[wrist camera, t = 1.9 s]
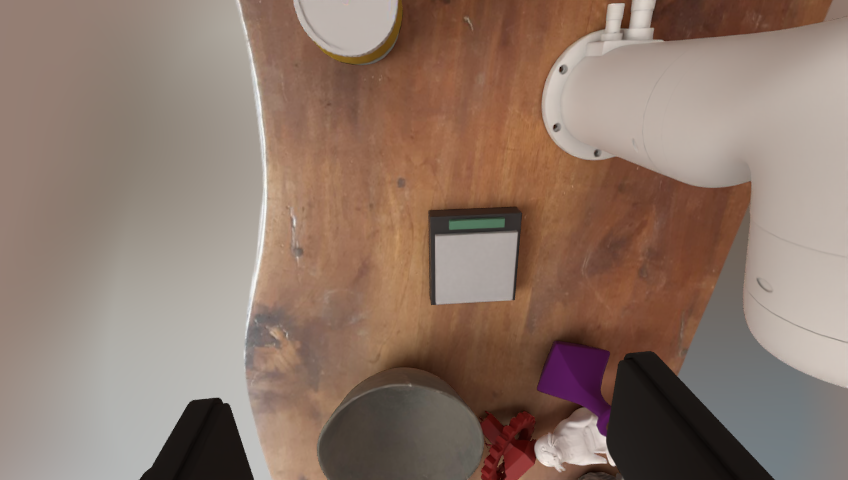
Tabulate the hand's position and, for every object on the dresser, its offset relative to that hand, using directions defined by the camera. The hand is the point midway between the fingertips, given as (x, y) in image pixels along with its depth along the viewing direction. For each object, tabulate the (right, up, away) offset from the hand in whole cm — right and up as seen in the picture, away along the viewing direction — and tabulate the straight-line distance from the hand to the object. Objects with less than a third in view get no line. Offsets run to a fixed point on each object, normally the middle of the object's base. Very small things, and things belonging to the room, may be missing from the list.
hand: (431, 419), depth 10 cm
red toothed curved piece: (+14, -27, +46) cm, 55 cm away
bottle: (-6, +24, +28) cm, 38 cm away
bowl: (-3, -15, +45) cm, 48 cm away
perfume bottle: (+19, -11, +45) cm, 50 cm away
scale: (+5, +3, +38) cm, 39 cm away
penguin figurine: (+26, -21, +46) cm, 57 cm away
